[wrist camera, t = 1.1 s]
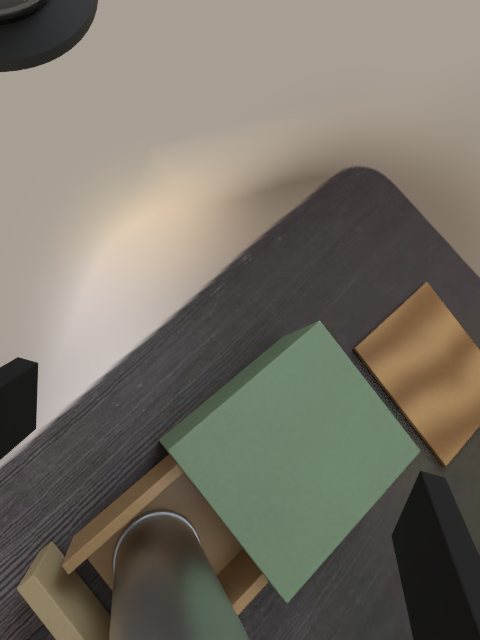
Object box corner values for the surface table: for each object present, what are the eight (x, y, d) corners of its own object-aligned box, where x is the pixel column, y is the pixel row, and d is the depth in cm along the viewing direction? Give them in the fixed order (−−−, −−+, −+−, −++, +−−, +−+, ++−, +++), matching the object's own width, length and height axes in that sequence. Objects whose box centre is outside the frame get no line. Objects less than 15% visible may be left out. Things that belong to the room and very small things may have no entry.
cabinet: (251, 559, 37) (287, 604, 29) (158, 440, 37) (167, 450, 29) (363, 441, 42) (421, 451, 34) (282, 337, 42) (319, 320, 34)
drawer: (90, 725, 31) (80, 811, 24) (-12, 594, 31) (-50, 645, 24) (269, 537, 37) (300, 566, 30) (184, 428, 37) (197, 433, 30)
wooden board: (352, 349, 44) (355, 348, 43) (423, 283, 48) (427, 281, 48) (442, 465, 44) (446, 466, 44) (505, 389, 48) (510, 389, 48)
